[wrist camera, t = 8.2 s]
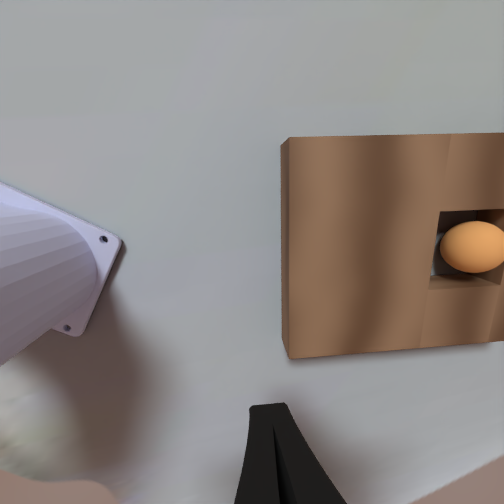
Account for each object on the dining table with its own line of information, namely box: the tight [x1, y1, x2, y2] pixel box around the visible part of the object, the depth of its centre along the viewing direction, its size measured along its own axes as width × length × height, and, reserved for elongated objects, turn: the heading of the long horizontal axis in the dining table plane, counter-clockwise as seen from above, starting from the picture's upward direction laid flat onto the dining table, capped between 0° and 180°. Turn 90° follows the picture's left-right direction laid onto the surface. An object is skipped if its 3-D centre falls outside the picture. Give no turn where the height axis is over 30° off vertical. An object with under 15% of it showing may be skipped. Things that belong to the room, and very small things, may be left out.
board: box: [281, 133, 504, 359], centre depth 17 cm, size 17×14×2 cm
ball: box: [440, 221, 504, 273], centre depth 17 cm, size 4×4×4 cm
